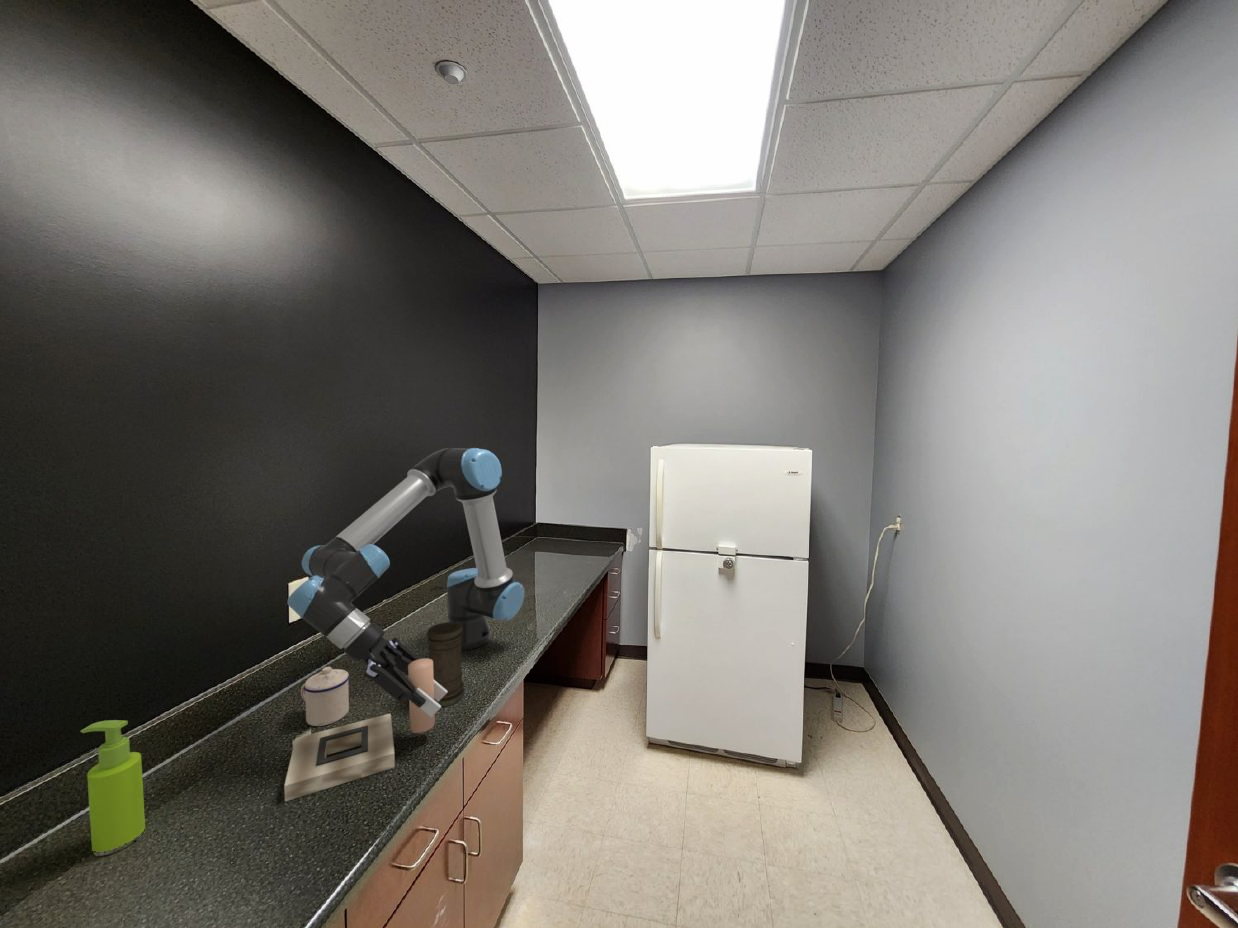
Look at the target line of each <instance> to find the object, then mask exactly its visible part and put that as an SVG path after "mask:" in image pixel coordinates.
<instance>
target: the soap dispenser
mask: <svg viewBox="0 0 1238 928" xmlns="http://www.w3.org/2000/svg"><path fill="white" fill-rule="evenodd" d="M128 722H129V721H128V720H121V719H120V720H117V719H110V720H108V719H107V720H103V721H102V720H101V721H96V722H94V723H91V724H90V725H88V726H86V727H85V728H83V729H81V730H80V733H82V734H85V733H89V732H104V735H105V737H104V738H105V742H104V743H101V745H100V746H99V747H98V748H97V754H98V763H97V764H95V765H94V766H93V767H91V768H90V769H89V770H88V772H87V774H86V775H87V789H88V790H87V793H88V807H89V808H88V809H89V822H90V838H91V852H92V851H96V852H104V851H109V850H112V849H115V848H118V847H119V846H123V845H124V844H125V843H128V842H130V841H132V840H134V838H136V837H138V836H139V835H140V834H141V833H142V832H143V831H144V829H145V830H146V819H145V815H146V814H145V800H144V798H145V797H144V782H143V779H144V778H143V765H142V754H141V753H140V752H137V751H131V748H130V746H131V745H130V739H129V737H126V736H122V728H124V727H125V726H127V725H128Z"/></svg>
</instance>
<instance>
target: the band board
mask: <svg viewBox="0 0 1238 928" xmlns="http://www.w3.org/2000/svg"><path fill="white" fill-rule="evenodd" d="M393 734H394V733H393V722H392V714H391V713H386V714H383V715H379V716H375V717H371V718H367V719H364V720H360V721H356V722H352V723H348V724H344V725H340V726H337V727H333V728H330V729H326V730H321V731H318V732H313V733H309V734H307V735H303V736H298V737H294V739H295V740H294V743H293V747H292V752H291V755H290V756H291V757H290V761H289V765H288V770H287V772H286V777H285V781H284V802H285V803H286V802H288V801H291V800H295V799H298V798H301V797H306V796H307V795H311V794H315V793H317V792H320V791H323V790H326V789H331V788H333V787H334V788H335V787H337V786H339V785H343V784H346V783H349V782H352V781H355V780H359V779H362V778H365V777H368V776H372V775H375V774H379V773H381V772H385V771H388V770H392V769H394V768H395V767H396V765H395V763H396V761H395V746H394V735H393ZM360 746H361V747H360ZM356 747H359V748H356ZM353 748H356V749H353ZM351 749H352V750H351ZM345 750H349V751H345ZM342 751H343V753H342ZM344 751H345V752H344ZM338 752H341V753H338ZM335 753H338V754H335ZM332 754H335V755H332ZM329 755H332V756H329Z"/></svg>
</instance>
